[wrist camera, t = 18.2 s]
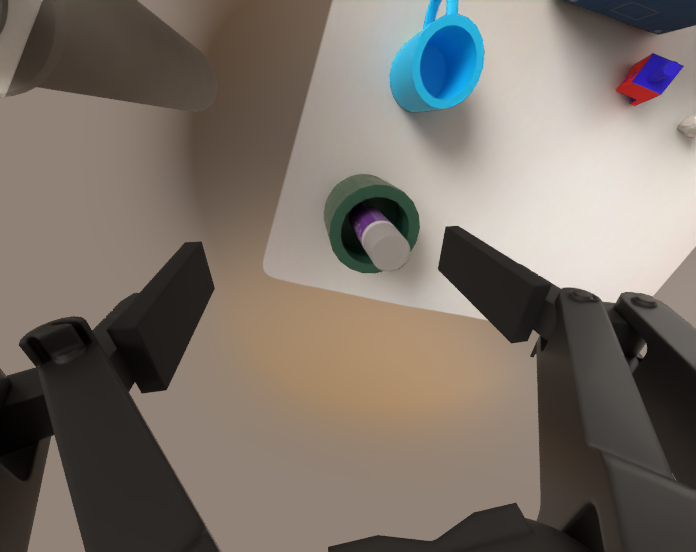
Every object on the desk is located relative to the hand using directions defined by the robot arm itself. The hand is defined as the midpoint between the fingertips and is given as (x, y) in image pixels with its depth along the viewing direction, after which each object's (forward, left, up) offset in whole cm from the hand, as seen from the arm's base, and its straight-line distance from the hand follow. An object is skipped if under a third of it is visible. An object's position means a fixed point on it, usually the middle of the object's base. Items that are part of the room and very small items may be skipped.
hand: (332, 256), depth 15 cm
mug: (+2, +21, -29) cm, 36 cm away
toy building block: (+28, +42, -29) cm, 58 cm away
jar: (+10, +1, -29) cm, 31 cm away
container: (+10, +1, -28) cm, 30 cm away
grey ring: (+42, +47, -29) cm, 69 cm away
